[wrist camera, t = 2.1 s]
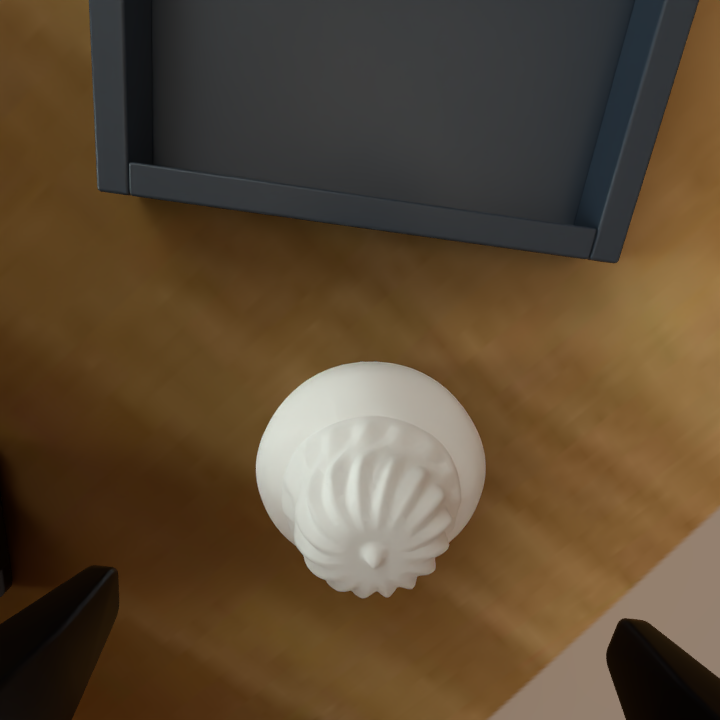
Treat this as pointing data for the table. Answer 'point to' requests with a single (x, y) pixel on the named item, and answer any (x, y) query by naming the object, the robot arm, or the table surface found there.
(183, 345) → the table surface
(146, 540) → the table surface
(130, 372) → the table surface
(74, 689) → the robot arm
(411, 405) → the muffin
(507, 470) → the table surface
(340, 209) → the tray
